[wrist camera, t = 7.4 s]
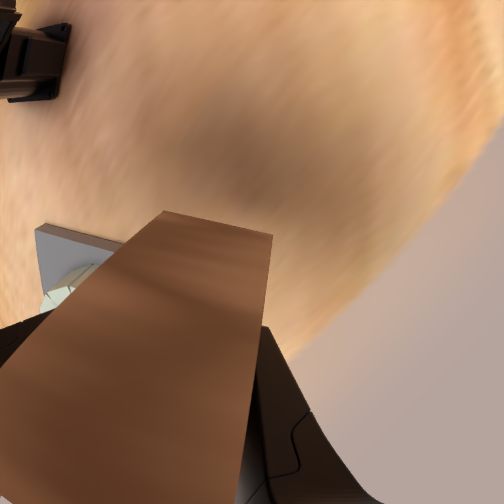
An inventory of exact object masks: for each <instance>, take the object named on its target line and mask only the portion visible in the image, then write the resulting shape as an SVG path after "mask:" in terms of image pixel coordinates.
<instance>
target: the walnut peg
mask: <svg viewBox="0 0 504 504" xmlns="http://www.w3.org/2000/svg"><path fill="white" fill-rule="evenodd" d="M272 239H273V235H271V234H267V233H262V232H258V231H253V230H249V229H245V228H240V227H236V226H231V225H227V224H222V223H218V222H213V221H209V220H204V219H200V218H195V217H191V216H186V215H181V214H177V213H172V212H167V211H163V212H162V213H161V214H159V215H158V216H157V217H156V218H154V219H153V220H152V221H151V222H150V223H148V224H147V225H146V226H145V227H144V228H142V229H141V230H140V231H139V232H138V233H137V234H135V235H134V236H133V237H132V238H131V239H130V240H128V241H127V242H126V243H125V244H124V245H123V246H121V247H120V248H119V249H118V250H117V251H116V252H115V253H114V254H112V255H111V256H110V257H109V258H108V259H107V260H106V261H105V262H104V263H102V264H101V265H100V266H99V267H98V268H97V269H96V270H95V271H94V272H93V273H92V274H91V275H89V276H88V277H87V278H86V279H85V280H84V281H83V282H82V283H81V284H80V285H79V286H78V287H77V288H76V289H75V290H74V291H73V292H72V293H71V294H70V295H69V296H68V297H67V298H66V299H65V300H63V301H62V302H61V303H60V304H59V305H58V306H57V307H56V308H55V310H54V311H53V312H52V313H51V314H50V315H49V316H48V317H47V318H46V319H45V320H44V321H43V322H42V323H41V324H40V325H39V326H38V327H37V328H36V329H35V330H34V331H33V332H32V333H31V335H30V336H29V337H28V338H27V339H26V340H25V341H24V342H23V343H22V344H21V345H20V347H19V348H18V349H17V350H16V351H15V352H14V353H13V354H12V356H11V357H10V358H9V359H8V360H7V361H6V362H5V364H4V365H3V366H2V367H1V368H0V495H2V496H3V497H4V498H6V499H7V500H8V501H10V502H11V503H12V504H234V503H235V497H236V491H237V485H238V479H239V473H240V467H241V460H242V454H243V448H244V441H245V435H246V428H247V422H248V415H249V409H250V402H251V395H252V388H253V382H254V375H255V368H256V361H257V353H258V346H259V339H260V332H261V324H262V317H263V310H264V302H265V294H266V287H267V279H268V271H269V263H270V255H271V247H272Z"/></svg>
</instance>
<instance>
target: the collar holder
mask: <svg viewBox="0 0 504 504" xmlns="http://www.w3.org/2000/svg"><path fill="white" fill-rule="evenodd" d="M35 240H36V249H37V256H38V264H39V270H40V276H41V282H42V288H43V293H44V299H43V302H42V305H41V308H40V311H39V312H40V314H41V313H44V312H46V311H49V310H52V309H54V308H56V307H57V306H58V305H59V304H60V303H61V302H62V301H63V300H65V299H66V298H67V297H68V296H69V295H70V294H71V293H72V292H73V291H74V290H75V289H76V288H77V287H78V286H79V285H80V284H81V283H82V282H83V281H84V280H85V279H86V278H87V277H88V276H89V275H91V274H92V273H93V272H94V271H95V270H96V269H97V268H98V267H99V266H100V265H101V264H102V263H104V262H105V261H106V260H107V259H108V258H109V257H110V256H111V255H112V254H114V253H115V252H116V251H117V250H118V249H119V248H120V247H121V246H123V245H124V244H121V243H117V242H113V241H109V240H105V239H101V238H98V237H94V236H90V235H86V234H82V233H79V232H75V231H71V230H67V229H64V228H60V227H56V226H52V225H49V224H43V225H41V226H40V227H38V228H36V229H35Z"/></svg>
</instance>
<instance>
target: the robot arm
mask: <svg viewBox="0 0 504 504" xmlns="http://www.w3.org/2000/svg"><path fill="white" fill-rule="evenodd" d="M15 6H16V0H0V99H5V98H7V100H8V102H9V103H14V102H25V101H40V100H54V99H55V98H56V97H57V94H58V88H59V82H60V76H61V70H62V64H63V59H64V55H65V50H66V45H67V41H68V37H69V33H70V29H71V25H70V24H68V23H61V24H57V25H53V26H48V27H44V28H40V29H37V30H32V29H26V28H19V27H15V25H16V23H17V21H19V20H20V18H21V16H22V14H21V13H18V12H16V8H15ZM64 28H65V30H64ZM51 93H52V96H51ZM54 310H55V308H54V309H52V310H49V311H46V312H44V313H41V314H39V315H36V316H34V317H31V318H29V319H26V320H23V322H18V323H16V324H13V325H11V326H8V327H5V328H3V329H0V368H1V367H2V366H3V365H4V364H5V362H6V361H7V360H8V359H9V358H10V357H11V356H12V354H13V353H14V352H15V351H16V350H17V349H18V348H19V347H20V345H21V344H22V343H23V342H24V341H25V340H26V339H27V338H28V337H29V336H30V335H31V333H32V332H33V331H34V330H35V329H36V328H37V327H38V326H39V325H40V324H41V323H42V322H43V321H44V320H45V319H46V318H47V317H48V316H49V315H50V314H51V313H52V312H53V311H54ZM0 497H1V495H0ZM234 504H384V503H381V502H379V501H377V500H376V499H374V498H373V497H372V496H370V495H369V494H368V493H367V492H366V491H365V490H364V489H363V488H362V487H361V486H360V484H359V483H358V482H357V480H356V479H355V478H354V476H353V475H352V474H351V472H350V471H349V470H348V468H347V467H346V465H345V464H344V463H343V461H342V460H341V459H340V457H339V456H338V454H337V453H336V452H335V450H334V449H333V447H332V446H331V444H330V443H329V441H328V440H327V438H326V437H325V435H324V433H323V432H322V430H321V428H320V426H319V424H318V423H317V421H316V419H315V417H314V415H313V413H312V412H310V408H309V405H308V404H307V402H306V400H305V398H304V396H303V394H302V392H301V390H300V388H299V386H298V384H297V382H296V380H295V378H294V377H293V374H292V373H291V370H290V369H289V367H288V365H287V363H286V361H285V359H284V357H283V355H282V353H281V351H280V349H279V347H278V345H277V343H276V341H275V339H274V337H273V335H272V333H271V331H270V329H269V328H268V327H266V326H262V325H261V332H260V339H259V346H258V353H257V361H256V368H255V375H254V382H253V388H252V395H251V402H250V409H249V415H248V422H247V428H246V435H245V441H244V448H243V454H242V460H241V467H240V473H239V479H238V485H237V491H236V497H235V503H234Z"/></svg>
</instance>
